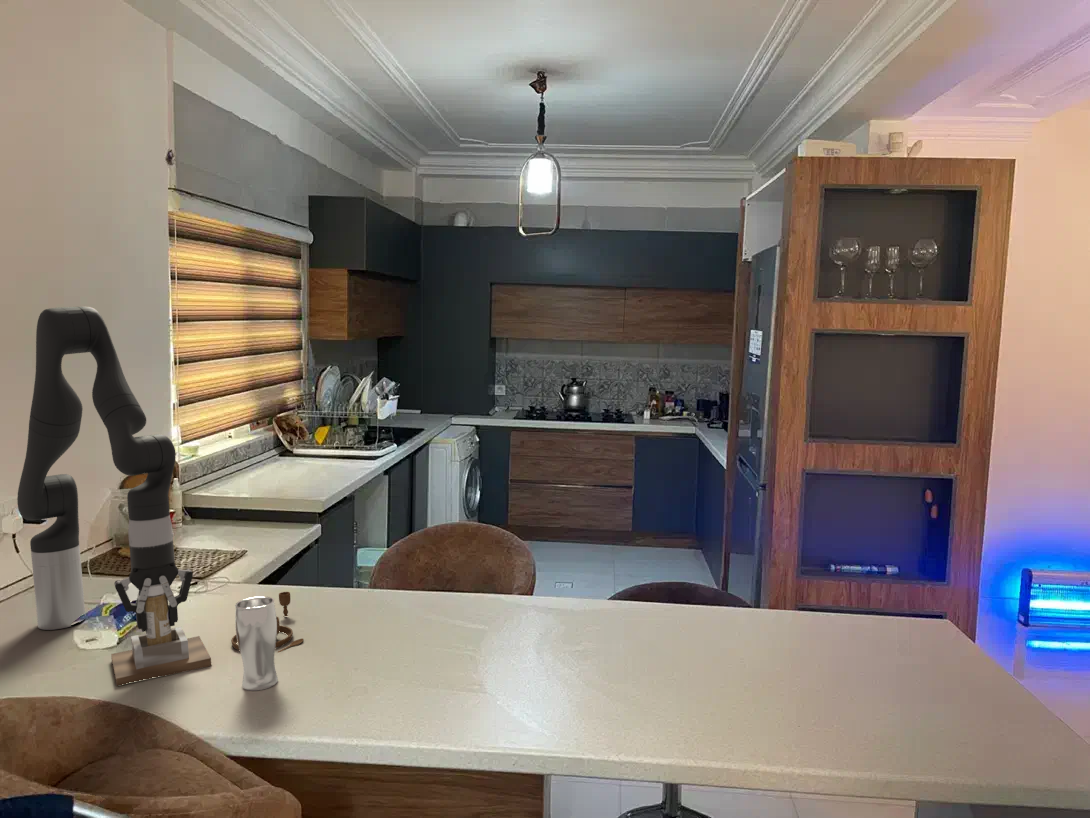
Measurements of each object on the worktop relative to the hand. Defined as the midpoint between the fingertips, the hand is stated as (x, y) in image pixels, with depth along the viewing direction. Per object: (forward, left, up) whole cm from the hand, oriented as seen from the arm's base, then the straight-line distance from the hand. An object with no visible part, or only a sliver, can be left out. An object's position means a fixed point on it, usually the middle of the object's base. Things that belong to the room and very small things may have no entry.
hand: (157, 627), depth 156 cm
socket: (0, 0, -7) cm, 7 cm away
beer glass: (+21, +14, -7) cm, 26 cm away
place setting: (-2, +23, -8) cm, 24 cm away
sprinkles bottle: (0, 0, -5) cm, 5 cm away
